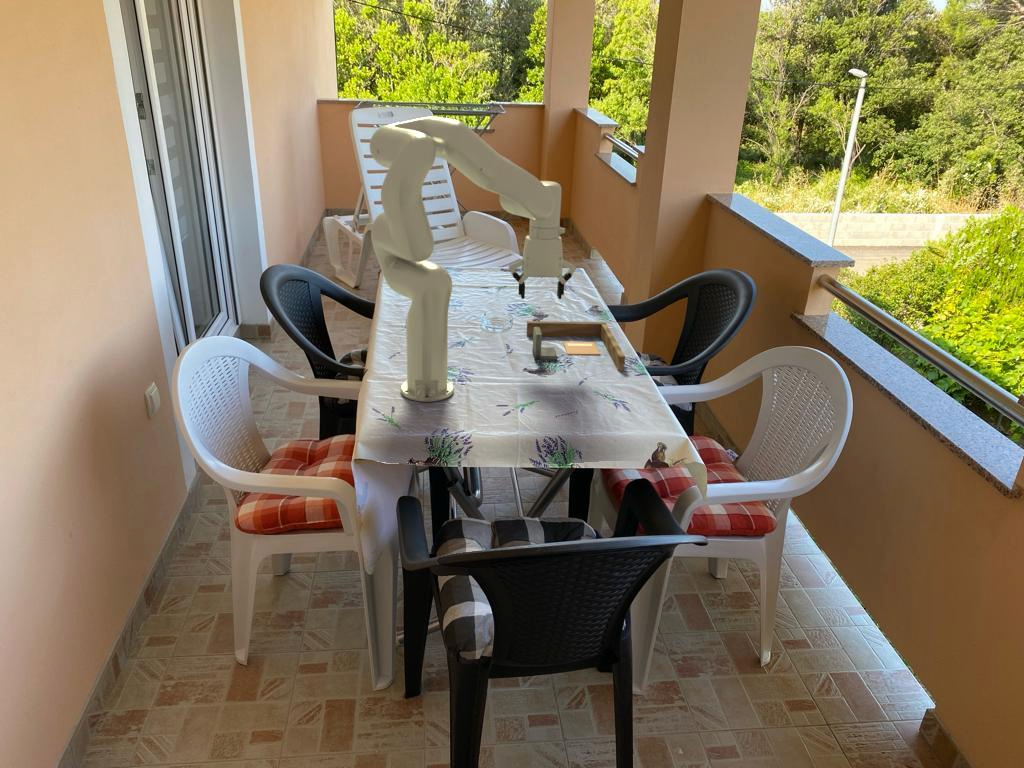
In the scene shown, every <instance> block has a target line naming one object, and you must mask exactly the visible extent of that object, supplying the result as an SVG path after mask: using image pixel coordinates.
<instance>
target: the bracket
mask: <svg viewBox="0 0 1024 768" xmlns="http://www.w3.org/2000/svg"><path fill="white" fill-rule="evenodd" d="M542 338H543V336H542V333H541V330H540V327H534V333H533V336H532V339H533V340H532V352H531V353H532V356H533V359H534V361H535V362H558V354H557V351H556V348H555V347H542V342H543V341H542V340H543V339H542Z"/></svg>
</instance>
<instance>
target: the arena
mask: <svg viewBox="0 0 1024 768" xmlns="http://www.w3.org/2000/svg"><path fill="white" fill-rule="evenodd" d="M534 327H540V330H541V333H542V337H580V338H582V337H585V338H587V337H589V338H591V337H592V338H600V339H601V341H602V343H603V345H604V347H605V348H606V351H607V353H608V354H609V356H610V358H611V360H612V363H613V364H614V366H615V368H616V369H617V371H618V372H621V371H623V372H624V370H625V364H626V363H625V362H626V356H625V353H624V352H623V350H622V348H621V346H620V345H619V343H618V342H617V339H616V338H615V337H614V334H613V333H612V331H611V329H610V328H609V325H608V324H607V322H605V321H543V320H542V321H538V320H537V321H536V320H527V321H526V337H533V333H534Z"/></svg>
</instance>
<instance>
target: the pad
mask: <svg viewBox="0 0 1024 768" xmlns="http://www.w3.org/2000/svg"><path fill="white" fill-rule="evenodd" d="M562 344H563V347H564V349H565V351H566V354H567V355H568V356H571V355H573V356H600V355H601V353H600V351H599V348H598V347H597V345H596V343H595V341H562Z"/></svg>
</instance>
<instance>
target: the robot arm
mask: <svg viewBox="0 0 1024 768" xmlns="http://www.w3.org/2000/svg"><path fill="white" fill-rule="evenodd" d="M369 151H370V155H371V157H372V159H374V161H375V162H376V163H377V164H379V165H381V167H384V168H388V171H387V173H386V175H385V177H384V180H383V182H382V185H381V190H380V200H381V205H382V210H383V212H381V213H379V214H378V215H377V216H376V217H375V219H374V221H373V222H372V226H371V230H370V238H371V244H372V247H373V250H374V253H375V257H376V258H377V261H378V264H379V268H380V270H381V273H382V275H383V278H384V280H385V283H386V284H387V286H388V287H389V288H390V289H391V290H393V292H395V293H397V294H398V295H401V296H403V297H405V298H407V299H409V300H410V301H411V304H410V307H409V309H408V312H407V314H406V315H407V316H406V321H405V328H406V329H405V330H406V377H407V378H406V380H405V381H404V382H403V383H402V384H401V385H400V393H401V394H402V396H404V397H405V398H407V399H409V400H412V401H415V402H421V403H423V402H425V403H430V402H431V403H432V402H438V401H439V402H440V401H442V400H446V399H448V398H449V397H451V396H452V395H453V394H454V391H455V389H454V388H455V387H454V384H453V383H452V382H451V381H450V380H448V353H449V352H448V350H449V349H448V347H449V346H448V345H449V344H448V339H449V338H448V334H449V332H448V331H449V330H448V328H449V327H448V324H449V323H448V322H449V308H450V301H451V297H452V291H453V280H452V276H451V275H450V272H449V271H447V270H446V268H444V267H443V266H442V265H440V264H438V263H436V262H433V261H431V260H428V259H429V258H430V257H431V256H432V254H433V252H434V250H435V240H434V236H433V232H432V228H431V224H430V221H429V218H428V215H427V212H426V211H427V210H426V208H425V204H424V199H423V185H424V182H425V180H426V178H427V175H428V174H429V172H430V171H431V169H432V167H433V165H434V163H435V160H436V158H438V159H442V160H444V161H446V162H447V163H449V165H451V166H453V167H454V168H455V169H456V170H457V171H458V172H460V173H461V174H462V175H464V176H465V177H466V178H467V179H468V180H469V181H470V182H472V183H473V184H475V186H478V187H480V188H482V189H483V190H485V191H488V192H490V193H494V194H496V195H499V204H500V206H501V208H502V209H503V210H504V211H506V212H507V213H509V214H511V215H515V216H518V217H524V218H527V219H529V229H528V230H529V231H528V235H526V236H525V238H524V244H523V252H522V258H521V259H520V260H517V261H515V262H513V263H511V264H509V265H508V269H509V272H510V273H511V275H512V277H513V278H514V279H515V281H516V282H518V295H519V296H520V297H521V299H522V300H524V299H525V298H526V296H525V295H526V283H525V281H526V280H527V279H528V278H557V280H558V281H557V289H556V290H557V292H556V296H557V298H558V300H561V299H562V296H564V295H565V285H566V283H567V282H568V281H569V280H570V279H572V276H573V275H574V273H575V271H576V269H577V267H576V265H574V264H572V263H570V262H569V261H567V260H565V259H563V256H564V255H563V253H564V252H563V243H562V241H563V240H562V237H561V234H565V233H566V228H565V227H561V226H560V223H561V221H560V220H561V205H562V186H561V184H559V183H558V182H556V181H552V180H551V181H550V180H539V179H538V178H537V177H536V176H535V175H533V174H532V173H530V171H529V172H528V170H526V169H524V168H522V167H521V166H519V165H517V164H516V163H514V162H513V161H511V160H510V159H509V158H507V157H505V156H504V155H501V154H500V153H499V152H497V151H496V150H495V149H494V148H493V147H492V146H491V145H490V144H488V143H487V142H486V141H485V140H484V139H483V138H481V136H479V135H478V134H477V133H476V132H475V131H474V130H472V128H471V127H470V126H469V125H467V124H466V123H465V122H462V121H460V120H458V119H456V118H455V119H454V118H449V117H442V116H436V115H435V116H433V115H432V116H425V117H420V118H415V119H410V120H406V121H402V122H401V121H400V122H396V123H391V124H386V125H383V126H381V127H379V128H378V129H376V130H375V131H374V133H373V134H372V136H371V138H370V142H369ZM520 267H522V268H521V270H522V272H521V274H519V273H518V272H517V271H516V269H518V268H520ZM563 267H564V268H567V269H568V271H567V272H566V273H565V274H564V275H563Z"/></svg>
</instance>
